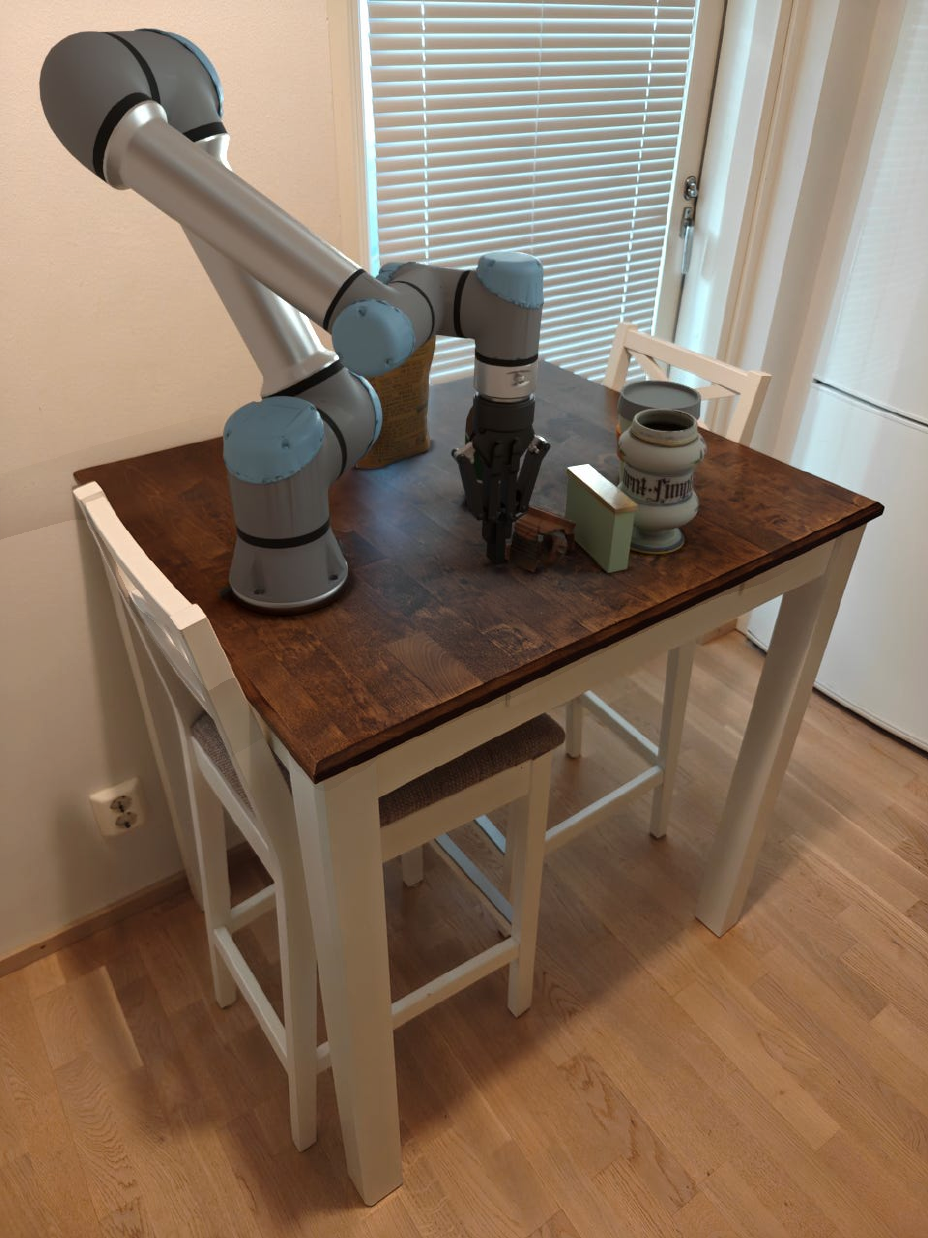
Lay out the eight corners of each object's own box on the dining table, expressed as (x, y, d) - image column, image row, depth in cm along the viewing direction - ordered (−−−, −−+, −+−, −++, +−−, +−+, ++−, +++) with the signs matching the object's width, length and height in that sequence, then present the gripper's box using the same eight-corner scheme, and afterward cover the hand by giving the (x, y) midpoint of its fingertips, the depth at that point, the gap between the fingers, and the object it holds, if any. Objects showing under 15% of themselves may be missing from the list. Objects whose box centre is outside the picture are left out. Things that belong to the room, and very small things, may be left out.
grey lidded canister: (702, 496, 139) (718, 404, 130) (628, 506, 136) (640, 413, 127) (665, 464, 149) (678, 376, 140) (595, 472, 146) (605, 383, 137)
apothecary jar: (591, 526, 130) (604, 409, 120) (660, 511, 134) (678, 397, 124) (636, 565, 121) (654, 442, 111) (709, 548, 125) (732, 428, 115)
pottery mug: (489, 552, 125) (509, 496, 123) (544, 569, 129) (564, 516, 128) (526, 574, 114) (549, 513, 113) (585, 592, 118) (608, 534, 117)
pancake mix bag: (453, 446, 153) (453, 278, 137) (367, 479, 142) (357, 300, 126) (426, 435, 157) (424, 270, 141) (341, 466, 146) (328, 291, 130)
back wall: (607, 574, 119) (615, 509, 114) (561, 529, 130) (567, 467, 124) (629, 569, 121) (638, 504, 115) (582, 525, 131) (588, 463, 125)
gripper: (466, 409, 102) (461, 583, 115) (567, 396, 106) (550, 565, 119) (442, 387, 107) (440, 555, 121) (539, 375, 111) (526, 538, 125)
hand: (495, 560), depth 120 cm, fingers closed
